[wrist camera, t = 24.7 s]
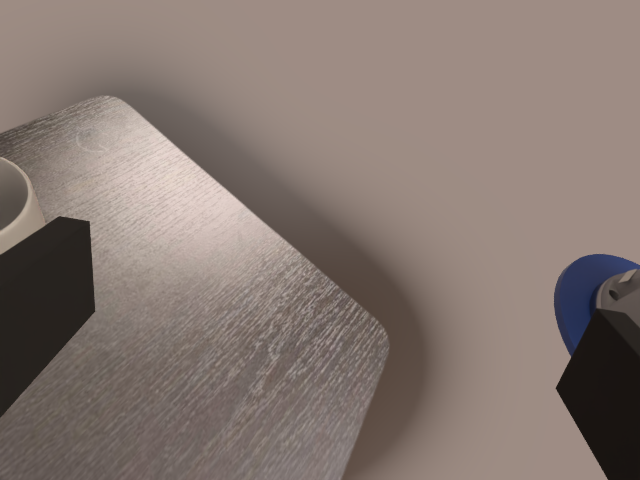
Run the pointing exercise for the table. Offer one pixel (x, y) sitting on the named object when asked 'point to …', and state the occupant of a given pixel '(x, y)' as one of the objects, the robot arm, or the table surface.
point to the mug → (17, 206)
